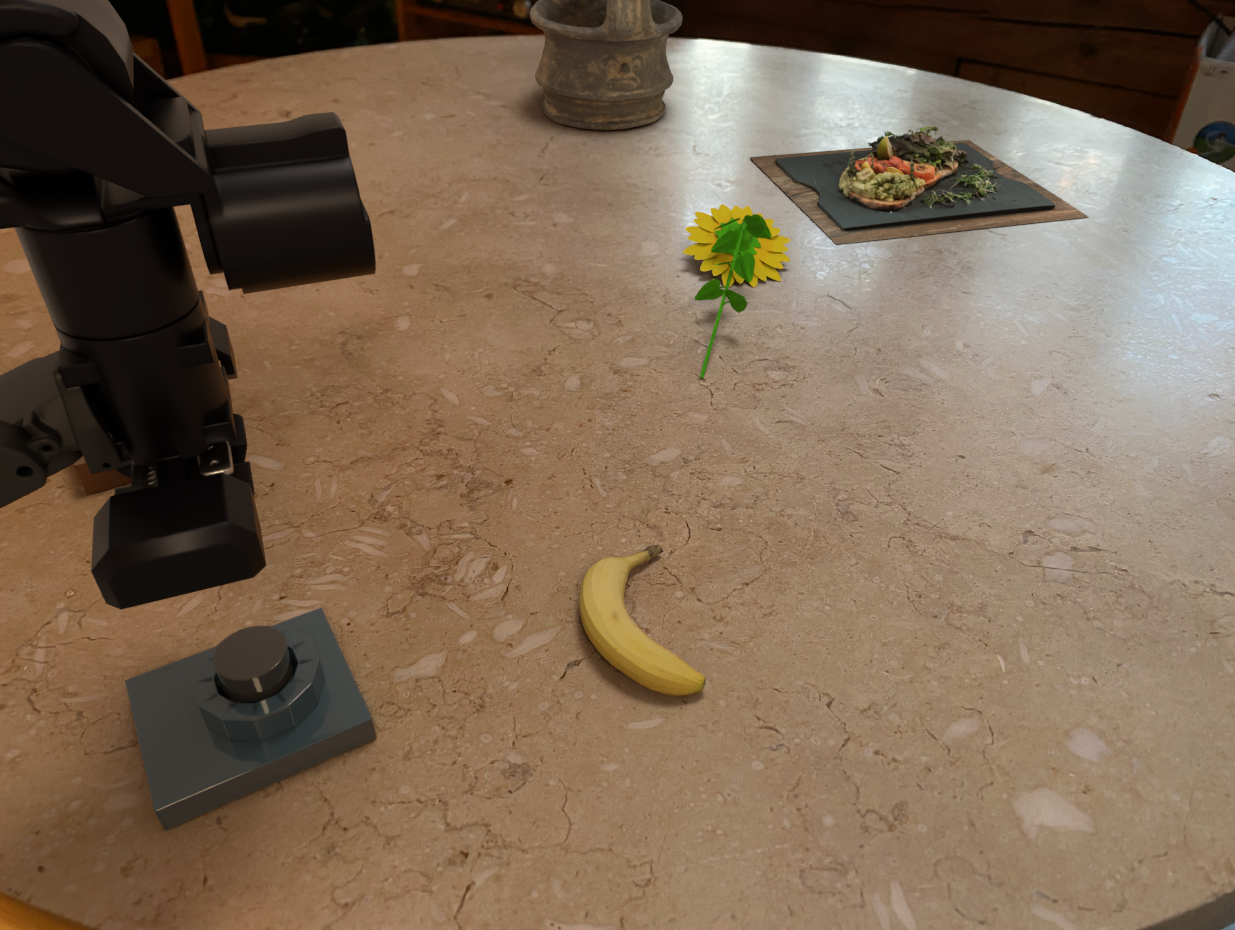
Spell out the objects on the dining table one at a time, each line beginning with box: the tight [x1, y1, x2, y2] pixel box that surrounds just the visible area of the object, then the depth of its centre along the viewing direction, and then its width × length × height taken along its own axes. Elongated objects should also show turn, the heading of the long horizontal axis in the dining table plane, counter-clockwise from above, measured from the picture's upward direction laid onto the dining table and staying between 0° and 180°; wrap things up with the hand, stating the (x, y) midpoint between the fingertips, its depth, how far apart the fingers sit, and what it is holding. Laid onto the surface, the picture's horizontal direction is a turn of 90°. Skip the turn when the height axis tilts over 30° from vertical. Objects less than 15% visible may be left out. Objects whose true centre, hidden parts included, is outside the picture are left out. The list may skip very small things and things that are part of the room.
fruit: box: [579, 544, 707, 696], centre depth 62 cm, size 7×13×3 cm, turn 14°
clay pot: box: [529, 0, 683, 131], centre depth 134 cm, size 22×23×30 cm
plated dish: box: [749, 125, 1089, 245], centre depth 121 cm, size 35×28×7 cm
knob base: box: [124, 607, 378, 831], centre depth 56 cm, size 12×10×4 cm
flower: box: [681, 203, 791, 380], centre depth 96 cm, size 12×9×30 cm
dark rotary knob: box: [213, 625, 293, 703], centre depth 54 cm, size 4×4×2 cm
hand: (218, 567), depth 49 cm, fingers closed
